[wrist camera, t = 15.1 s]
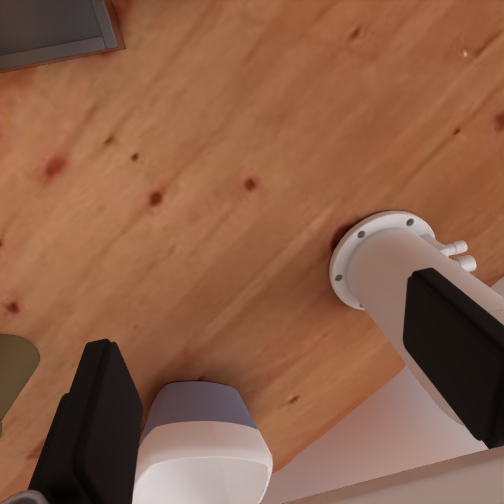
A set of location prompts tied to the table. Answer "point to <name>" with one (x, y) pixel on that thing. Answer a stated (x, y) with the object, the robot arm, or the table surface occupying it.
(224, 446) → the bowl
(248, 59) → the table surface
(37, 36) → the dark wooden tray
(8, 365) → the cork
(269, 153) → the table surface
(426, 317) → the robot arm
